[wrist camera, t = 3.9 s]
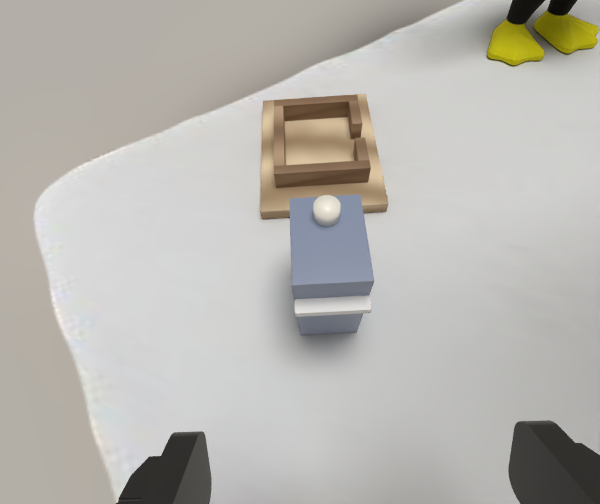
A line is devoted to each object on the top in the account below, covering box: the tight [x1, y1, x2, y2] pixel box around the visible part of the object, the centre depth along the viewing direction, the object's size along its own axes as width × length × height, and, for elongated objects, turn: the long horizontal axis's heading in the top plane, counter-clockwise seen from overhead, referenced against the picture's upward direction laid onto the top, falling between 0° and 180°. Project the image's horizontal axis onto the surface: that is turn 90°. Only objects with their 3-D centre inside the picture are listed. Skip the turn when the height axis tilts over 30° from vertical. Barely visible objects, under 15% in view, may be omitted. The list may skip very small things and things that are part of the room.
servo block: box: [289, 194, 374, 335], centre depth 24 cm, size 8×4×11 cm, turn 2°
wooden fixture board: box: [260, 94, 388, 219], centre depth 35 cm, size 16×12×3 cm
